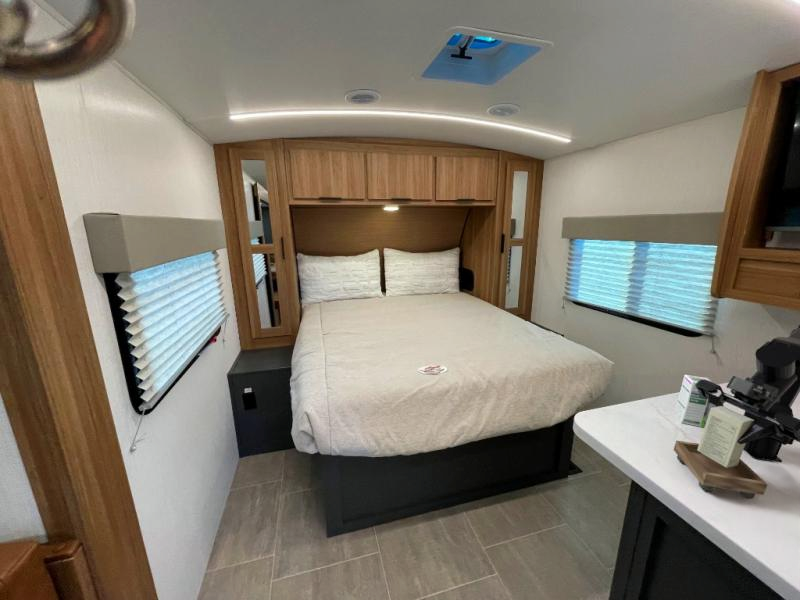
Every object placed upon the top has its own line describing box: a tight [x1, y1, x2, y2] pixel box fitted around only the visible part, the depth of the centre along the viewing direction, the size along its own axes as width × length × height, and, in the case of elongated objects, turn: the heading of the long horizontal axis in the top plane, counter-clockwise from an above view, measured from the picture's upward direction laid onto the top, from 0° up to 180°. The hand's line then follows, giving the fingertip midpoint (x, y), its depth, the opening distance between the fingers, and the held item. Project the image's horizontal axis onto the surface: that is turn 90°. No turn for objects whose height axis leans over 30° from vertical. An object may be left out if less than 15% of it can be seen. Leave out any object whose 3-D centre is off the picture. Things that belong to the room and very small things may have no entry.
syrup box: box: [674, 374, 714, 428], centre depth 99 cm, size 6×6×14 cm
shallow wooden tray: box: [673, 440, 769, 500], centre depth 78 cm, size 12×12×5 cm
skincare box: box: [697, 406, 754, 468], centre depth 76 cm, size 6×4×12 cm
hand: (721, 433), depth 75 cm, fingers closed on skincare box, 6 cm apart
